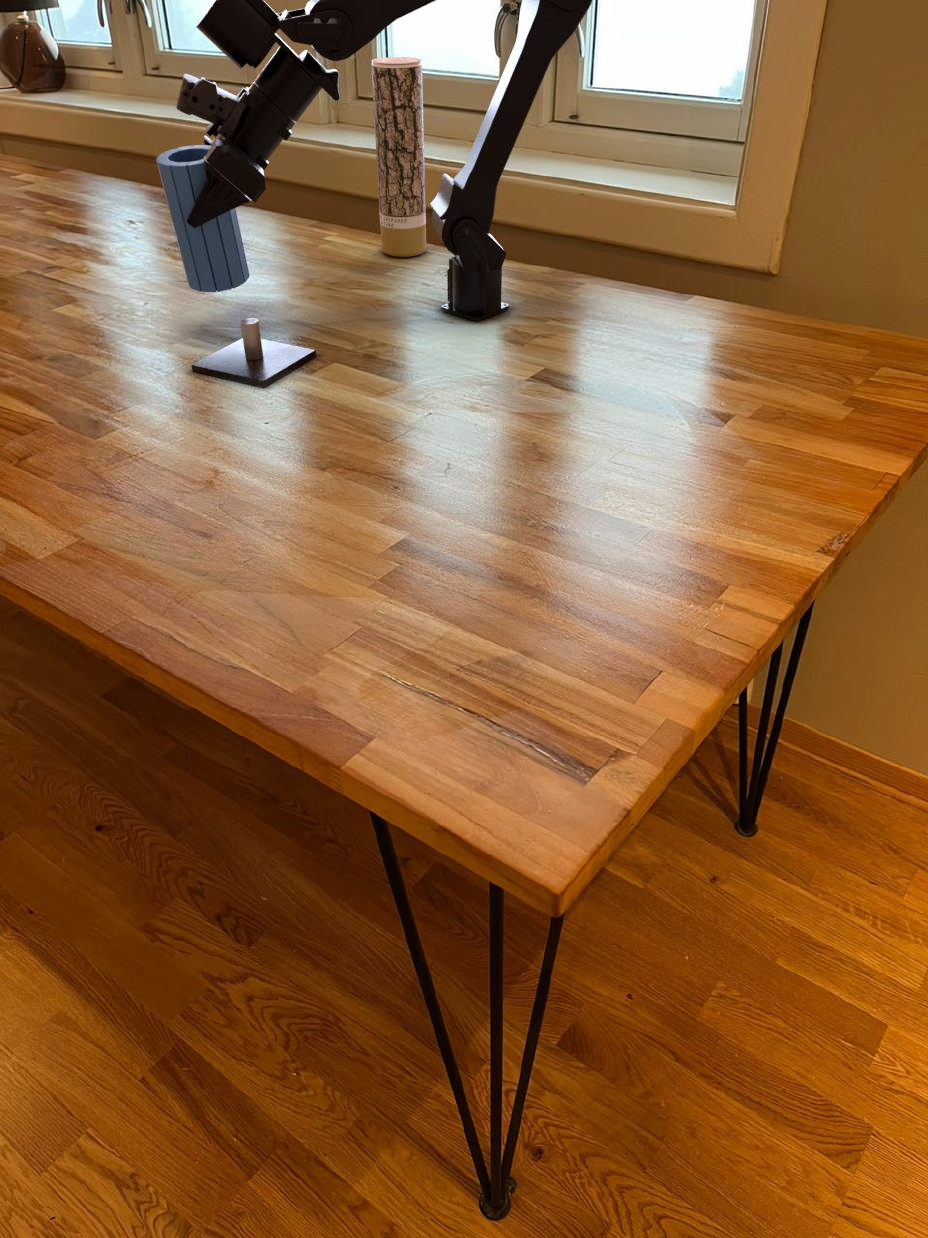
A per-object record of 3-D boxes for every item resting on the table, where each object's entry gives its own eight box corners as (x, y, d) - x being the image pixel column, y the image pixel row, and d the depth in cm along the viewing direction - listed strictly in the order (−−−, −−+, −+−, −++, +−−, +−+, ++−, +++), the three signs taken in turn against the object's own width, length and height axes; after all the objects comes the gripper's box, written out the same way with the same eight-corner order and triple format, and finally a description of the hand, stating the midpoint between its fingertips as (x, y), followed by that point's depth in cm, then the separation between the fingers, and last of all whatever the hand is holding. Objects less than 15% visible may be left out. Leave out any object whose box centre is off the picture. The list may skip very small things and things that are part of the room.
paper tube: (420, 259, 137) (414, 64, 122) (376, 256, 139) (365, 62, 123) (431, 246, 143) (426, 57, 128) (388, 244, 144) (379, 56, 129)
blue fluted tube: (256, 267, 114) (231, 144, 104) (238, 292, 109) (210, 165, 99) (200, 266, 115) (170, 144, 105) (179, 291, 110) (146, 166, 100)
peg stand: (316, 356, 108) (312, 313, 105) (264, 388, 101) (258, 343, 98) (247, 342, 112) (241, 300, 109) (192, 371, 105) (184, 327, 102)
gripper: (212, 33, 104) (132, 147, 109) (213, 53, 90) (121, 184, 95) (291, 109, 110) (212, 213, 115) (304, 139, 96) (214, 257, 101)
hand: (190, 215), depth 106 cm, fingers closed on blue fluted tube, 7 cm apart
